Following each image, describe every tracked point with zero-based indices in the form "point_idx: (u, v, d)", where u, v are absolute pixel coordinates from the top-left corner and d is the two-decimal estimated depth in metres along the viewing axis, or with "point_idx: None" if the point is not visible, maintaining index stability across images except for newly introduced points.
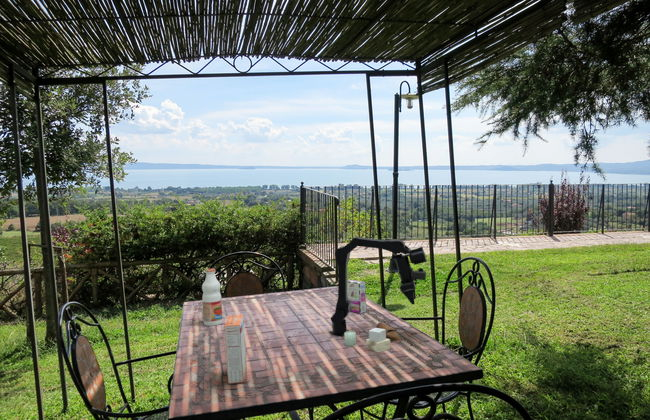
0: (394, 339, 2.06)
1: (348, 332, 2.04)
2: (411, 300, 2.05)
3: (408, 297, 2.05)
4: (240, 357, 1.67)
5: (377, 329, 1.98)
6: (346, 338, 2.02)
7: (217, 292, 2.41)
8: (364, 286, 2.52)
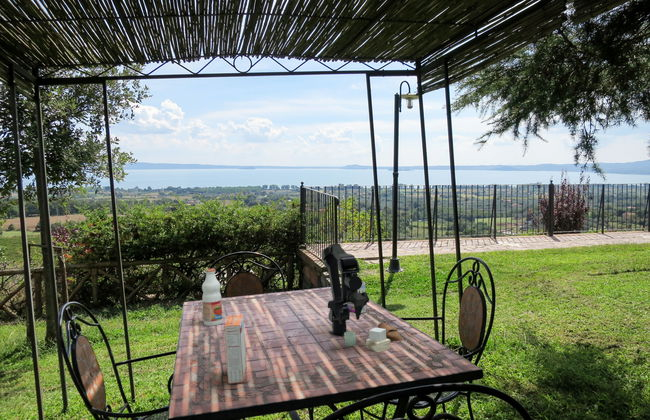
0: (395, 339, 2.06)
1: (348, 332, 2.04)
2: (339, 319, 2.00)
3: (336, 315, 2.01)
4: (240, 357, 1.67)
5: (378, 328, 1.98)
6: (346, 338, 2.02)
7: (217, 292, 2.41)
8: (364, 286, 2.52)
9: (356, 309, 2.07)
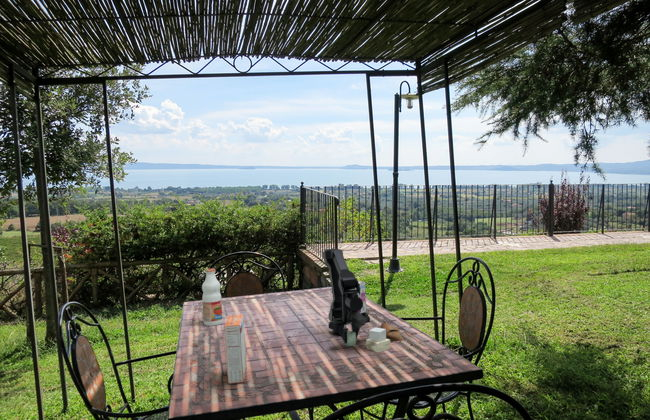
0: (396, 339, 2.06)
1: (348, 332, 2.04)
2: (343, 338, 2.02)
3: (341, 334, 2.02)
4: (240, 357, 1.67)
5: (378, 328, 1.98)
6: None
7: (217, 292, 2.41)
8: (364, 286, 2.52)
9: (353, 330, 2.06)
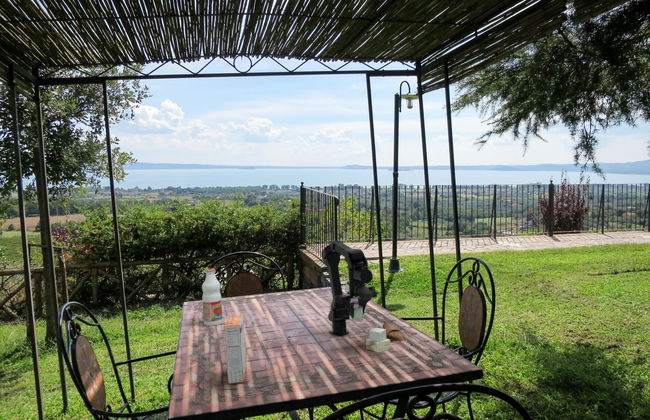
0: (397, 339, 2.06)
1: (355, 307, 2.01)
2: (350, 313, 1.99)
3: (348, 309, 2.00)
4: (240, 357, 1.67)
5: (378, 329, 1.98)
6: None
7: (217, 292, 2.41)
8: None
9: (360, 305, 2.03)
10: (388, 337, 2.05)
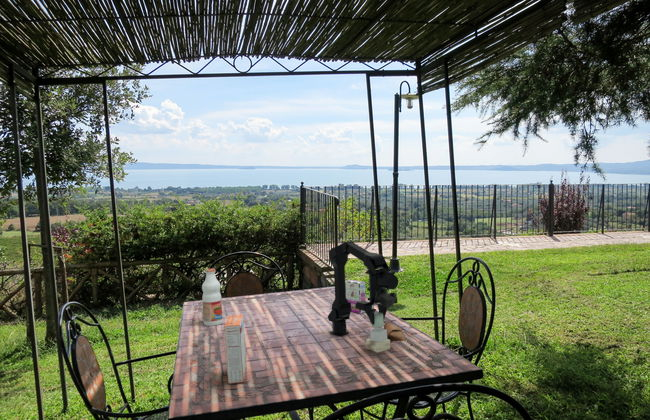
0: (398, 339, 2.06)
1: (375, 313, 1.97)
2: (371, 320, 1.95)
3: (368, 315, 1.95)
4: (240, 357, 1.67)
5: (379, 329, 1.98)
6: None
7: (217, 292, 2.41)
8: (364, 286, 2.52)
9: (380, 311, 1.99)
10: (389, 337, 2.05)
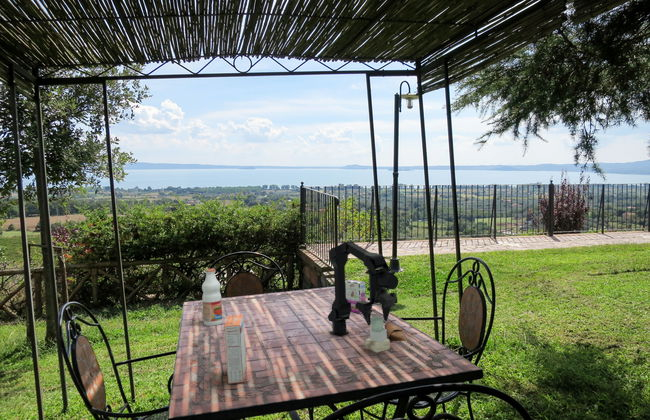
0: (399, 339, 2.06)
1: (375, 317, 1.97)
2: (367, 321, 1.94)
3: (364, 316, 1.94)
4: (240, 357, 1.67)
5: None
6: (373, 324, 1.95)
7: (217, 292, 2.41)
8: (364, 286, 2.52)
9: (384, 310, 2.00)
10: (390, 337, 2.05)
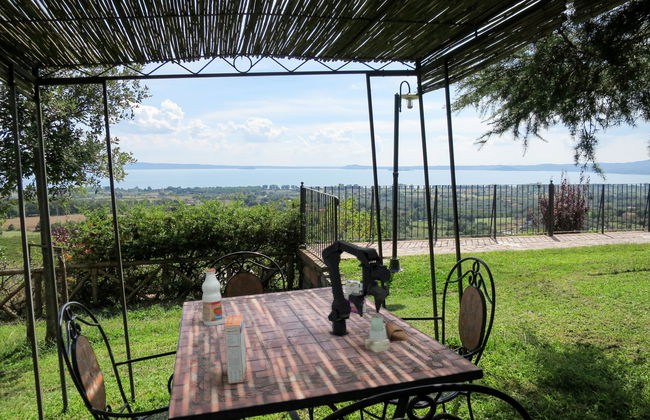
0: (401, 339, 2.06)
1: (374, 317, 1.97)
2: (359, 312, 1.99)
3: (357, 308, 2.00)
4: (240, 357, 1.67)
5: None
6: (373, 323, 1.95)
7: (217, 292, 2.41)
8: None
9: (376, 302, 2.06)
10: (392, 337, 2.05)
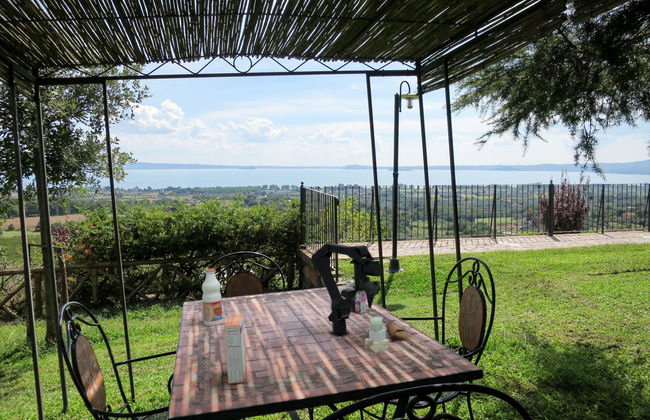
0: (403, 339, 2.05)
1: (374, 317, 1.97)
2: (352, 307, 2.06)
3: (349, 303, 2.06)
4: (240, 357, 1.67)
5: None
6: (373, 323, 1.95)
7: (217, 292, 2.41)
8: None
9: (368, 298, 2.12)
10: (394, 337, 2.05)
